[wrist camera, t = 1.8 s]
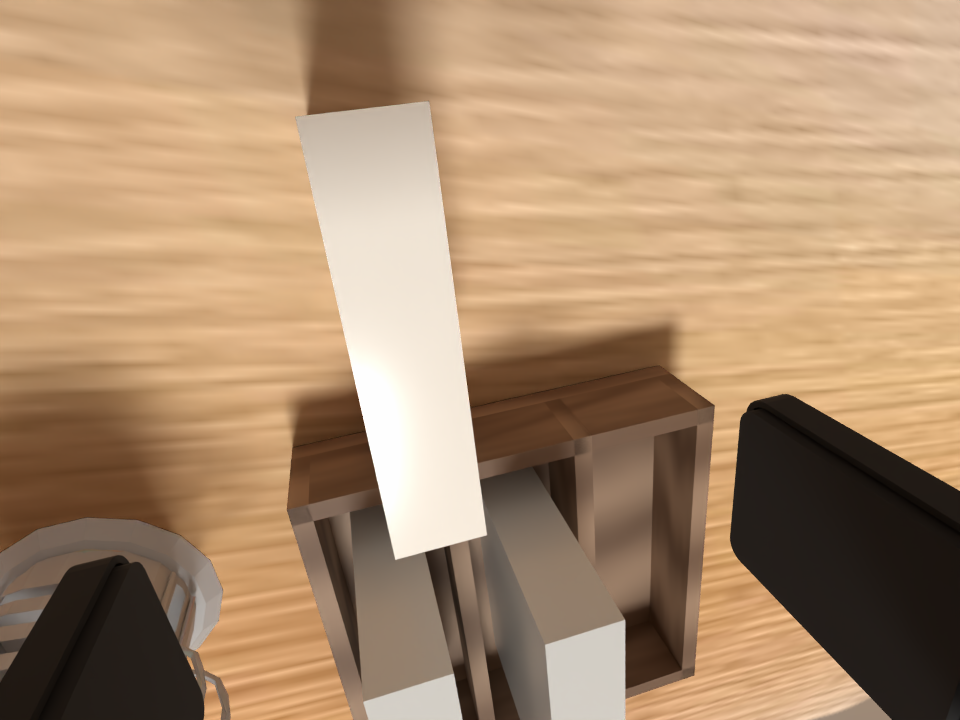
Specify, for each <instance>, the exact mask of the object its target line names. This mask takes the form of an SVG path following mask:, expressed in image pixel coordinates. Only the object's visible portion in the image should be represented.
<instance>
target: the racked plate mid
mask: <svg viewBox="0 0 960 720" xmlns="http://www.w3.org/2000/svg"><path fill="white" fill-rule="evenodd" d="M480 487H481V494H482V502H483V509H484V517H485V524H486V532H487V535H486V536H482V537H480V539H481V546H482V553H483V561H484V568H485V575H486V582H487V589H488V596H489V604H490V611H491V618H492V625H493V632H494V639H495V645H496V648H497V651H498V654H499V657H500V660H501V663H502V666H503V670H504V673H505V676H506V679H507V682H508V685H509V688H510V691H511V694H512V697H513V700H514V703H515V706H516V709H517V712H518V715H519V718H520V720H625V619H624V617H623V615H622V614H621V612H620V610H619V609H618V607H617V605H616V604H615V602H614V600H613V599H612V597H611V596H610V594H609V592H608V591H607V589H606V587H605V586H604V584H603V582H602V581H601V579H600V577H599V576H598V574H597V572H596V571H595V569H594V568H593V566H592V564H591V563H590V561H589V559H588V558H587V556H586V554H585V553H584V551H583V549H582V548H581V546H580V545H579V543H578V541H577V540H576V538H575V536H574V535H573V533H572V531H571V530H570V528H569V526H568V525H567V523H566V521H565V520H564V518H563V517H562V515H561V513H560V512H559V510H558V508H557V507H556V505H555V503H554V502H553V500H552V498H551V497H550V495H549V493H548V492H547V490H546V489H545V487H544V485H543V484H542V482H541V480H540V479H539V477H538V475H537V474H536V472H535V470H534V469H533V467H528V468H524V469H520V470H516V471H512V472H508V473H504V474H500V475H496V476H492V477H488V478H484V479H480Z"/></svg>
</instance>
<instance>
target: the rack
mask: <svg viewBox="0 0 960 720" xmlns="http://www.w3.org/2000/svg"><path fill="white" fill-rule="evenodd" d="M714 408H715V405H713V404H712V403H710V402H709V401H708V400H706V399H705V398H704V397H702V396H701V395H699V394H698V393H697V392H695V391H694V390H692V389H691V388H690V387H688V386H687V385H686V384H684V383H683V382H681V381H680V380H679V379H677V378H676V377H675V376H673V375H672V374H670V373H669V372H668V371H666V370H665V369H664V368H662V367H661V366H655V367H651V368H646V369H642V370H637V371H633V372H628V373H624V374H619V375H615V376H610V377H606V378H602V379H597V380H593V381H588V382H584V383H579V384H575V385H570V386H566V387H561V388H557V389H552V390H548V391H543V392H539V393H535V394H530V395H526V396H521V397H517V398H512V399H508V400H503V401H499V402H494V403H490V404H485V405H481V406H477V407H472V408H470V411H471V419H472V427H473V434H474V442H475V449H476V457H477V464H478V472H479V479H484V478H488V477H492V476H496V475H500V474H504V473H508V472H512V471H516V470H520V469H524V468H528V467H533V469H534V470H535V472H536V474H537V475H538V477H539V479H540V480H541V482H542V484H543V485H544V487H545V489H546V490H547V492H548V493H549V495H550V497H551V498H552V500H553V502H554V503H555V505H556V507H557V508H558V510H559V512H560V513H561V515H562V517H563V518H564V520H565V521H566V523H567V525H568V526H569V528H570V530H571V531H572V533H573V535H574V536H575V538H576V540H577V541H578V543H579V545H580V546H581V548H582V549H583V551H584V553H585V554H586V556H587V558H588V559H589V561H590V563H591V564H592V566H593V568H594V569H595V571H596V572H597V574H598V576H599V577H600V579H601V581H602V582H603V584H604V586H605V587H606V589H607V591H608V592H609V594H610V596H611V597H612V599H613V600H614V602H615V604H616V605H617V607H618V609H619V610H620V612H621V614H622V615H623V617H624V619H625V699H627V698H629V697H632V696H635V695H638V694H641V693H644V692H647V691H650V690H653V689H656V688H659V687H662V686H665V685H667V684H670V683H673V682H676V681H679V680H682V679H685V678H688V677H691V676H694V670H695V657H696V644H697V631H698V618H699V605H700V592H701V579H702V566H703V552H704V539H705V526H706V513H707V500H708V487H709V474H710V461H711V448H712V434H713V421H714ZM380 504H383V503H382V499H381V494H380V490H379V485H378V481H377V476H376V472H375V468H374V463H373V459H372V454H371V450H370V445H369V441H368V437H367V432H366V431H365V432H360V433H356V434H352V435H347V436H343V437H338V438H334V439H329V440H325V441H320V442H316V443H311V444H307V445H302V446H298V447H293V448H292V459H291V470H290V481H289V492H288V503H287V512H288V515H289V518H290V521H291V524H292V528H293V531H294V534H295V537H296V540H297V543H298V546H299V550H300V553H301V556H302V559H303V562H304V565H305V569H306V572H307V575H308V578H309V581H310V584H311V587H312V591H313V594H314V597H315V600H316V603H317V606H318V610H319V613H320V616H321V619H322V622H323V625H324V628H325V632H326V635H327V638H328V641H329V644H330V647H331V650H332V654H333V657H334V660H335V663H336V666H337V669H338V673H339V676H340V679H341V682H342V685H343V688H344V691H345V695H346V698H347V701H348V704H349V707H350V710H351V714H352V717H353V720H368V717H367V713H366V710H365V707H364V703H363V693H362V679H361V665H360V650H359V636H358V622H357V608H356V593H355V579H354V565H353V551H352V537H351V522H350V512H352V511H356V510H360V509H364V508H368V507H372V506H376V505H380ZM425 555H426V559H427V563H428V567H429V572H430V576H431V580H432V584H433V588H434V593H435V597H436V601H437V605H438V609H439V614H440V618H441V622H442V626H443V630H444V635H445V639H446V643H447V647H448V651H449V656H450V660H451V664H452V668H453V672H454V677H455V683H456V688H457V693H458V698H459V704H460V709H461V714H462V719H463V720H520V718H519V715H518V712H517V709H516V706H515V703H514V700H513V697H512V694H511V691H510V688H509V685H508V682H507V679H506V676H505V673H504V670H503V666H502V663H501V660H500V657H499V654H498V651H497V648H496V645H495V639H494V632H493V625H492V618H491V611H490V604H489V596H488V589H487V582H486V575H485V568H484V561H483V553H482V546H481V539H480V537H478V538H475V539H471V540H467V541H464V542H460V543H456V544H452V545H449V546H445V547H441V548H438V549H434V550H430V551H426V552H425Z"/></svg>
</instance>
